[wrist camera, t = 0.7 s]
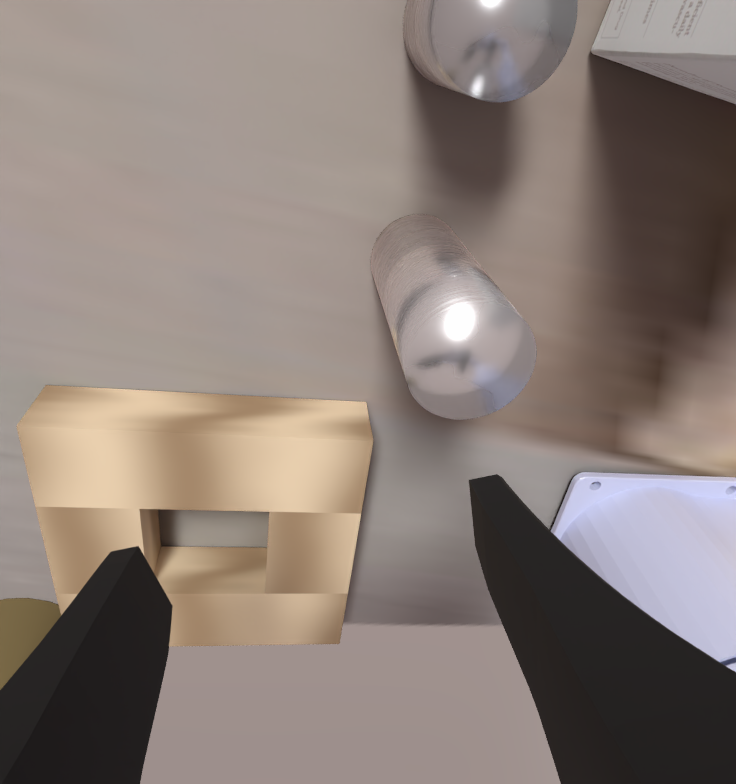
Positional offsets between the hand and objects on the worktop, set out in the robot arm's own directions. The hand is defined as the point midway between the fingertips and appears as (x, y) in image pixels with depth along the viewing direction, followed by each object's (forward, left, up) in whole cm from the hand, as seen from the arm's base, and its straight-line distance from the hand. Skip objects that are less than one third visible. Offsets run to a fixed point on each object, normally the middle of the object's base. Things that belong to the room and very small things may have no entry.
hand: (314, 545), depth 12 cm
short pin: (-4, -10, -10) cm, 15 cm away
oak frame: (+3, +9, -10) cm, 14 cm away
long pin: (-4, -3, -10) cm, 11 cm away
